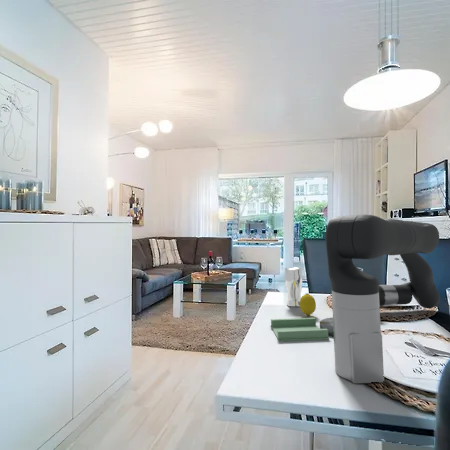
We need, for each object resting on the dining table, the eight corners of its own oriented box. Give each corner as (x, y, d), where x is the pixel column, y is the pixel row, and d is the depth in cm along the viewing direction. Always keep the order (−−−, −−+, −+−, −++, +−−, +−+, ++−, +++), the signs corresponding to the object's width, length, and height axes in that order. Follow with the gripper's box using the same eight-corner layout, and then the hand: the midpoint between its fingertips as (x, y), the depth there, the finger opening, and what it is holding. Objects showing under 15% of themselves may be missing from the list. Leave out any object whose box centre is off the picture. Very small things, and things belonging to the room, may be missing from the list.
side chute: (329, 339, 84) (328, 330, 84) (278, 341, 84) (278, 332, 84) (314, 324, 97) (313, 317, 98) (270, 326, 97) (270, 318, 97)
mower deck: (379, 337, 84) (379, 330, 84) (329, 339, 84) (329, 332, 84) (357, 322, 98) (356, 316, 98) (313, 324, 98) (313, 318, 98)
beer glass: (282, 304, 126) (281, 268, 126) (297, 302, 128) (296, 267, 128) (291, 308, 119) (289, 270, 120) (306, 306, 121) (305, 268, 122)
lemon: (317, 318, 104) (316, 295, 105) (300, 317, 106) (299, 294, 106) (315, 314, 110) (314, 291, 110) (299, 313, 111) (298, 291, 111)
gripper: (369, 282, 117) (328, 283, 116) (391, 288, 103) (345, 290, 102) (370, 301, 117) (329, 303, 116) (393, 310, 102) (346, 313, 101)
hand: (336, 297), depth 109 cm, fingers open, 8 cm apart
